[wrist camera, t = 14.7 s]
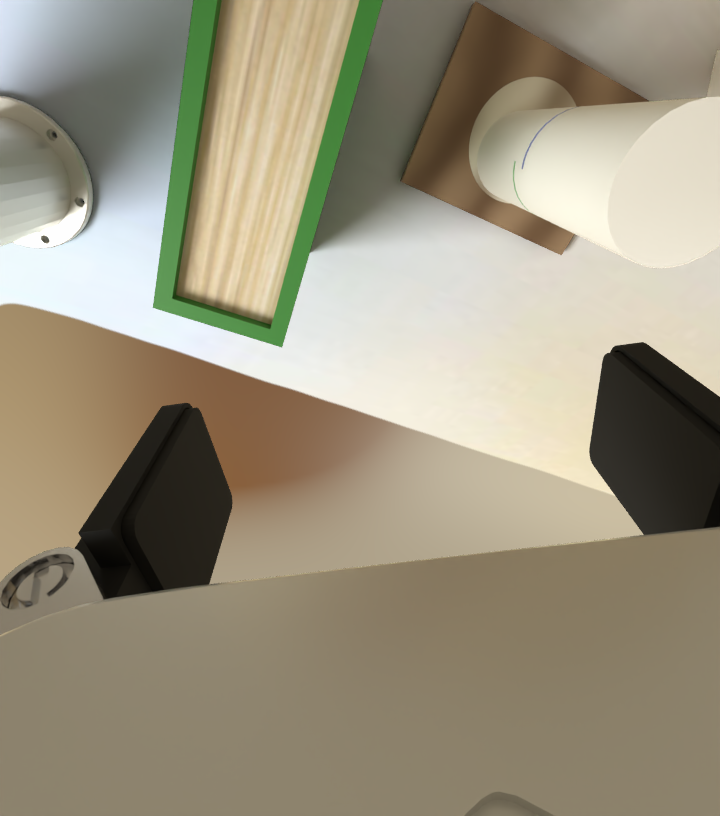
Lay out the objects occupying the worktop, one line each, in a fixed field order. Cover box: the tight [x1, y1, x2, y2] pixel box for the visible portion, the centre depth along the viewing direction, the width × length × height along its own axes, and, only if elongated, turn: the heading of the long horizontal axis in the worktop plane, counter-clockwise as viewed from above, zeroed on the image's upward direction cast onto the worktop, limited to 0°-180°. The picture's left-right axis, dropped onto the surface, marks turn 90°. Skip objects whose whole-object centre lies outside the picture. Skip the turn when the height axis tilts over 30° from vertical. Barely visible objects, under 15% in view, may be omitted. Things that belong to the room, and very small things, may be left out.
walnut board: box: [401, 2, 649, 255], centre depth 43 cm, size 18×14×1 cm
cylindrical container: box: [477, 97, 720, 268], centre depth 32 cm, size 7×7×25 cm
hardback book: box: [153, 0, 383, 347], centre depth 33 cm, size 18×7×24 cm, turn 160°
